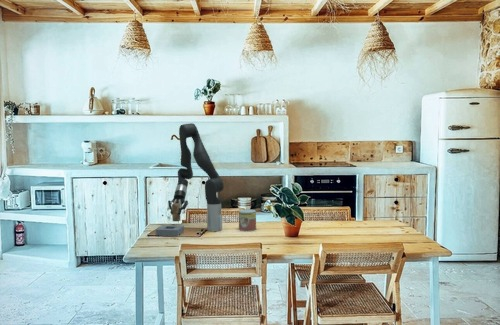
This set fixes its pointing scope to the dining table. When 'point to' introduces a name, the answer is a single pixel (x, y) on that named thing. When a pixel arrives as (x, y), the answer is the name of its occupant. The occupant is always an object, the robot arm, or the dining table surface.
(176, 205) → the walnut post
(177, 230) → the charcoal well block
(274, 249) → the dining table surface
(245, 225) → the canned food
